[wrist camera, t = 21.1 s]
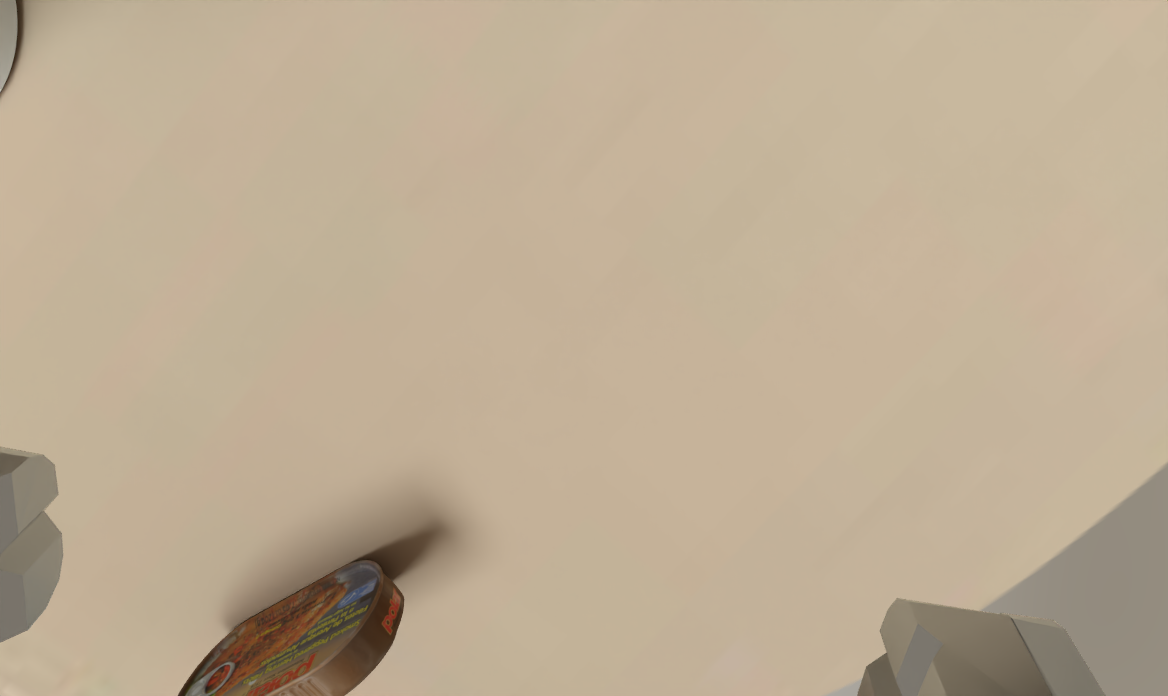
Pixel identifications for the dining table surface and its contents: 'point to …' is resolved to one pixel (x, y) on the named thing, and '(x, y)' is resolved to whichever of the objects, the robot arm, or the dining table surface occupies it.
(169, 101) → the dining table surface
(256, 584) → the dining table surface
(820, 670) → the dining table surface
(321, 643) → the tin
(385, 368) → the dining table surface
